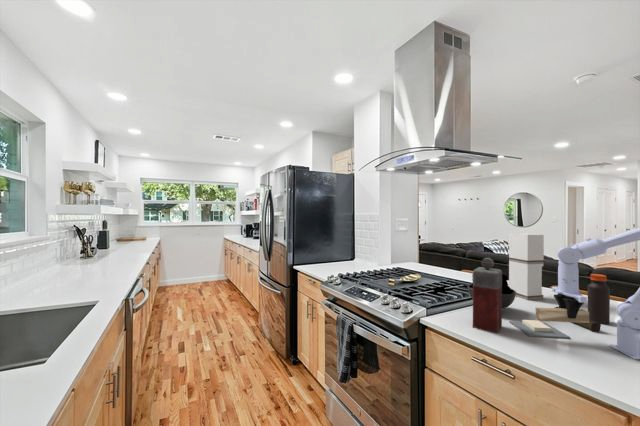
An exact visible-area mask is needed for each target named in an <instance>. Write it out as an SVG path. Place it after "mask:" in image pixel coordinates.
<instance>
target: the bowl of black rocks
mask: <svg viewBox="0 0 640 426" xmlns="http://www.w3.org/2000/svg"><path fill="white" fill-rule="evenodd" d="M475 269H476V268H474V269H473V271H474V270H475ZM471 277H472V281H473V274H472V275H471ZM508 280H509V276H507V275H506V274H503V273H502V310H504V309H506V308H508V307H510V306H511V305H512V304H513V303H514V301H515V299H516V297H517V296H516V291H515V290H513V289H511V288H510V287H509V282H508ZM467 291H468V294H469V296H470V298H471V299H472V300H473V282H472V283H471V284H468V285H467Z"/></svg>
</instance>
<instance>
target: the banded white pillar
mask: <svg viewBox="0 0 640 426" xmlns="http://www.w3.org/2000/svg"><path fill="white" fill-rule="evenodd" d="M544 235H545V234H538V233H524V232H523V233H521V234H520V233H511V232H509V235H508V237H509V238H508V239H509V241H508V246H509V247H508V250H509V251H508V260H509V261H508V286H509V287H510V288H511V289H513V290H515V291H516V296H515V297H517V298H521V299H524V300H526V301H532V300H534V301H535V300H544V294H543V292H542V291H543V287H542V282H543V279H542V278H543V277H542V276H543V273H542V272H543V270H542V269H543V267H544V261H545V260H544V259H545V258H544V255H545V253H544V252H545V251H544V250H545V249H544V245H545V244H544V242H545V240H544Z"/></svg>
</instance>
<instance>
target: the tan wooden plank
mask: <svg viewBox="0 0 640 426" xmlns="http://www.w3.org/2000/svg"><path fill="white" fill-rule="evenodd" d="M535 320H537V321H540V322H559V323H574V322H580V323H589V312H588V310H586V309H583V308H580V309H579V311H578V313H577V316H576V319H572V318H568V315H567V309H566V308H555V307H535Z"/></svg>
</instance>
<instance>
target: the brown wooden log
mask: <svg viewBox="0 0 640 426" xmlns="http://www.w3.org/2000/svg"><path fill="white" fill-rule="evenodd" d="M554 308H559V306H555V307H554ZM573 323H574V324H575V325H579V326H581V327H583V328H585V329H587V330H590V331H591V333H594V332H595V333H598V332H600V331H601V327H602V326H601V324H600V323H598V322H593V321H590V320H589V323H580V322H573Z"/></svg>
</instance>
